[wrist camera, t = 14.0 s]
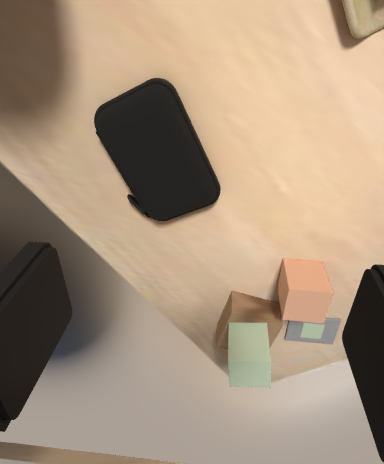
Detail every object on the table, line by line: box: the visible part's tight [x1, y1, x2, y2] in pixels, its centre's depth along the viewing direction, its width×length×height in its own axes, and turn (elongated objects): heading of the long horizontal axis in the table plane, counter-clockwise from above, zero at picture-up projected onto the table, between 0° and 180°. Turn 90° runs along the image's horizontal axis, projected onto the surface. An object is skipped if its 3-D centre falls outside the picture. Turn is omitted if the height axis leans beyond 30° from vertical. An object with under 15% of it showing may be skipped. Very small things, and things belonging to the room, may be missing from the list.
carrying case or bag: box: [94, 78, 220, 221], centre depth 37 cm, size 11×3×15 cm
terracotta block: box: [277, 258, 334, 323], centre depth 43 cm, size 5×5×6 cm
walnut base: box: [217, 291, 283, 349], centre depth 48 cm, size 7×7×4 cm
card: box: [285, 318, 341, 344], centre depth 50 cm, size 7×5×1 cm
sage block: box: [228, 323, 271, 388], centre depth 44 cm, size 5×5×6 cm
